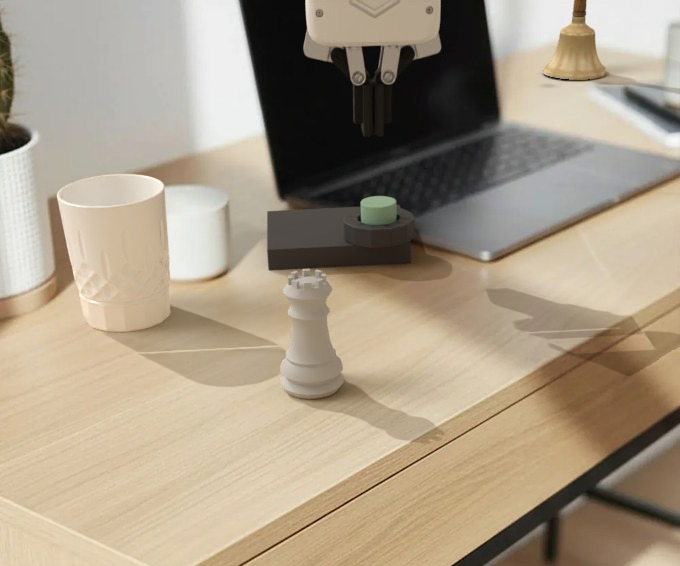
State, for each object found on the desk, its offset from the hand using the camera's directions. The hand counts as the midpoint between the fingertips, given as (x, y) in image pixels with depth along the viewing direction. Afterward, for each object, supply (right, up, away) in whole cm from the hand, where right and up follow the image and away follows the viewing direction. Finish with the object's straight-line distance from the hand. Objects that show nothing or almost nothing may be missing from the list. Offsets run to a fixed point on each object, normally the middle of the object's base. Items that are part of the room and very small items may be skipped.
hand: (372, 131), depth 97 cm
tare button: (+1, -6, +4) cm, 8 cm away
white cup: (-19, -16, -3) cm, 25 cm away
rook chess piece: (-4, -22, -15) cm, 27 cm away
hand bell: (+28, +26, +60) cm, 71 cm away
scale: (-3, -8, +8) cm, 11 cm away
